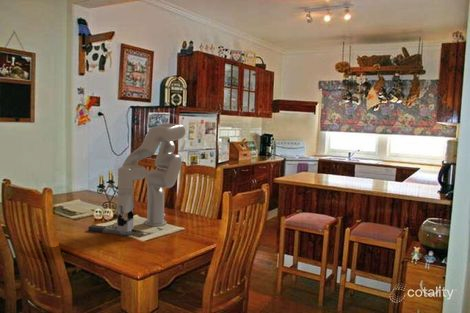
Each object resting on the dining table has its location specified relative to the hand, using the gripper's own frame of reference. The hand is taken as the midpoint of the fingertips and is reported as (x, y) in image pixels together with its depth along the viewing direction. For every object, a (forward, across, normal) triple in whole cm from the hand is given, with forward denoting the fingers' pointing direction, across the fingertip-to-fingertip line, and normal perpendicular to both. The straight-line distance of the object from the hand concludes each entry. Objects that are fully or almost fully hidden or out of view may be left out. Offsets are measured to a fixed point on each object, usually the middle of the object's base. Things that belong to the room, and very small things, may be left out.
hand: (125, 223), depth 197 cm
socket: (+4, 0, 0) cm, 4 cm away
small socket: (+6, -5, -8) cm, 11 cm away
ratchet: (+6, +1, -9) cm, 11 cm away
